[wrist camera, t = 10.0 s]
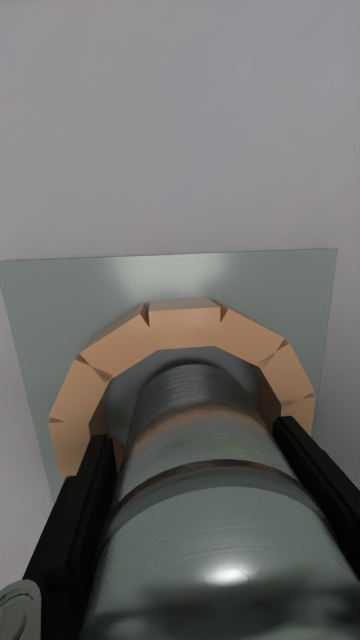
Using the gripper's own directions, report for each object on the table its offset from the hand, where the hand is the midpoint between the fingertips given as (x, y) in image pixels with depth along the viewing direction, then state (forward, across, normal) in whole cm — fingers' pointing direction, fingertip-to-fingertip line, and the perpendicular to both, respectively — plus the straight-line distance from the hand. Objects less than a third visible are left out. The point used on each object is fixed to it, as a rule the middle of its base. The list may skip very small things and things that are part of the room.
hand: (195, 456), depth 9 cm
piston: (+2, 0, 0) cm, 2 cm away
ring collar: (+4, 0, 0) cm, 4 cm away
